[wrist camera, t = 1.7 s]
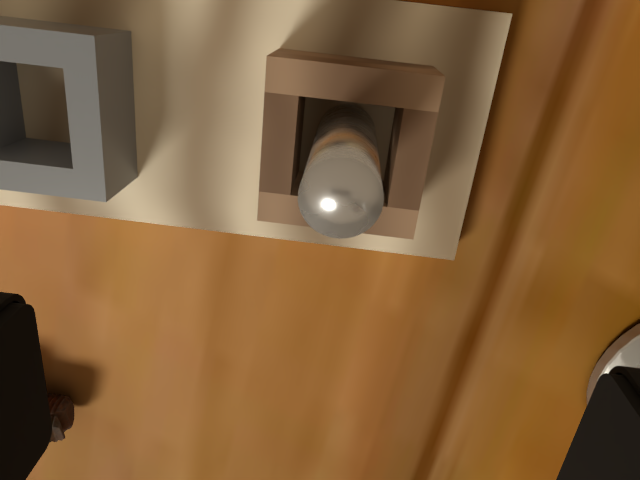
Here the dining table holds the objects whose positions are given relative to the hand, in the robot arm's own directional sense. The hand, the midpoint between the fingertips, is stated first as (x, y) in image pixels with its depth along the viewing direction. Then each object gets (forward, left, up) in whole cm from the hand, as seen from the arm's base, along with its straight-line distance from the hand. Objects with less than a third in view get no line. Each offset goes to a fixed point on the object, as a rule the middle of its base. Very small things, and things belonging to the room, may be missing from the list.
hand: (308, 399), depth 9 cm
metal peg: (0, 0, -20) cm, 20 cm away
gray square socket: (+15, 0, -20) cm, 25 cm away
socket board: (+7, 0, -22) cm, 23 cm away
